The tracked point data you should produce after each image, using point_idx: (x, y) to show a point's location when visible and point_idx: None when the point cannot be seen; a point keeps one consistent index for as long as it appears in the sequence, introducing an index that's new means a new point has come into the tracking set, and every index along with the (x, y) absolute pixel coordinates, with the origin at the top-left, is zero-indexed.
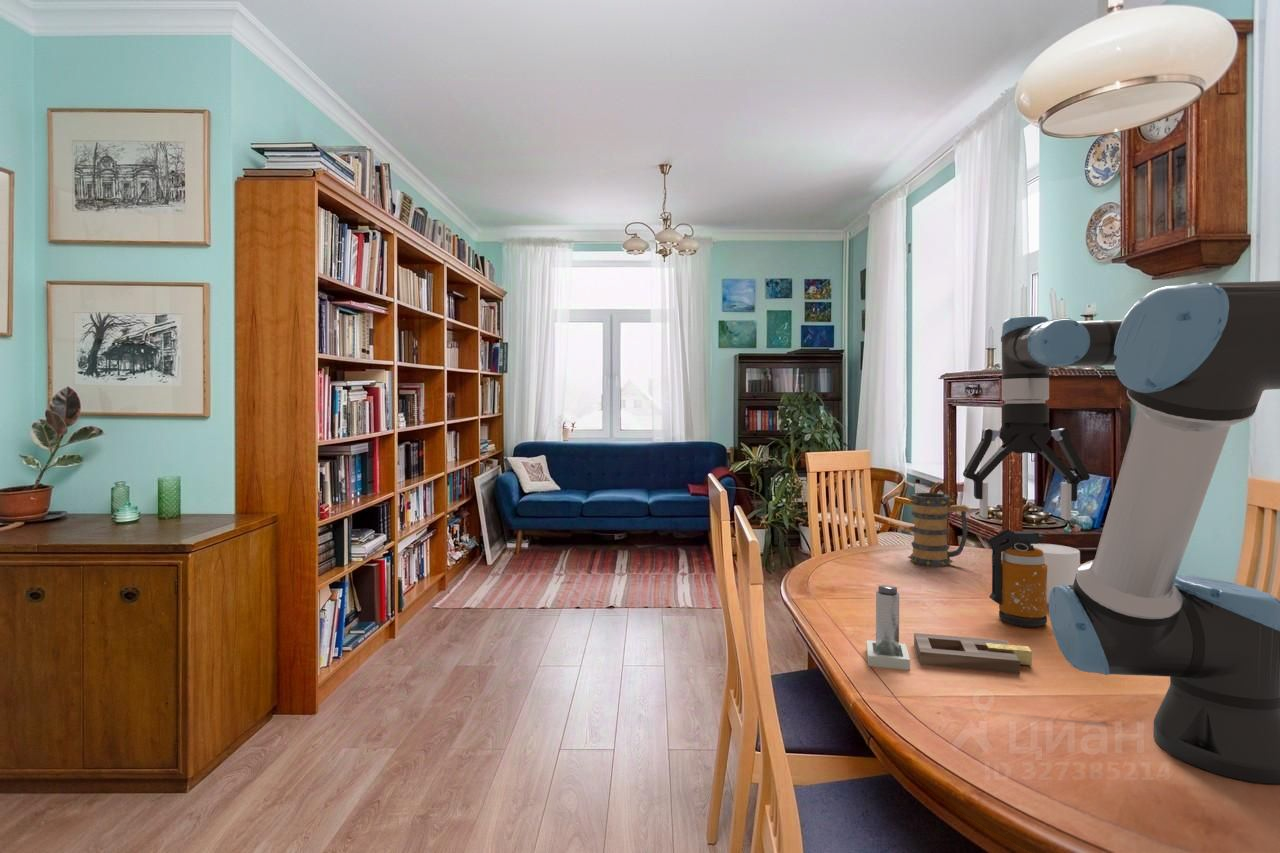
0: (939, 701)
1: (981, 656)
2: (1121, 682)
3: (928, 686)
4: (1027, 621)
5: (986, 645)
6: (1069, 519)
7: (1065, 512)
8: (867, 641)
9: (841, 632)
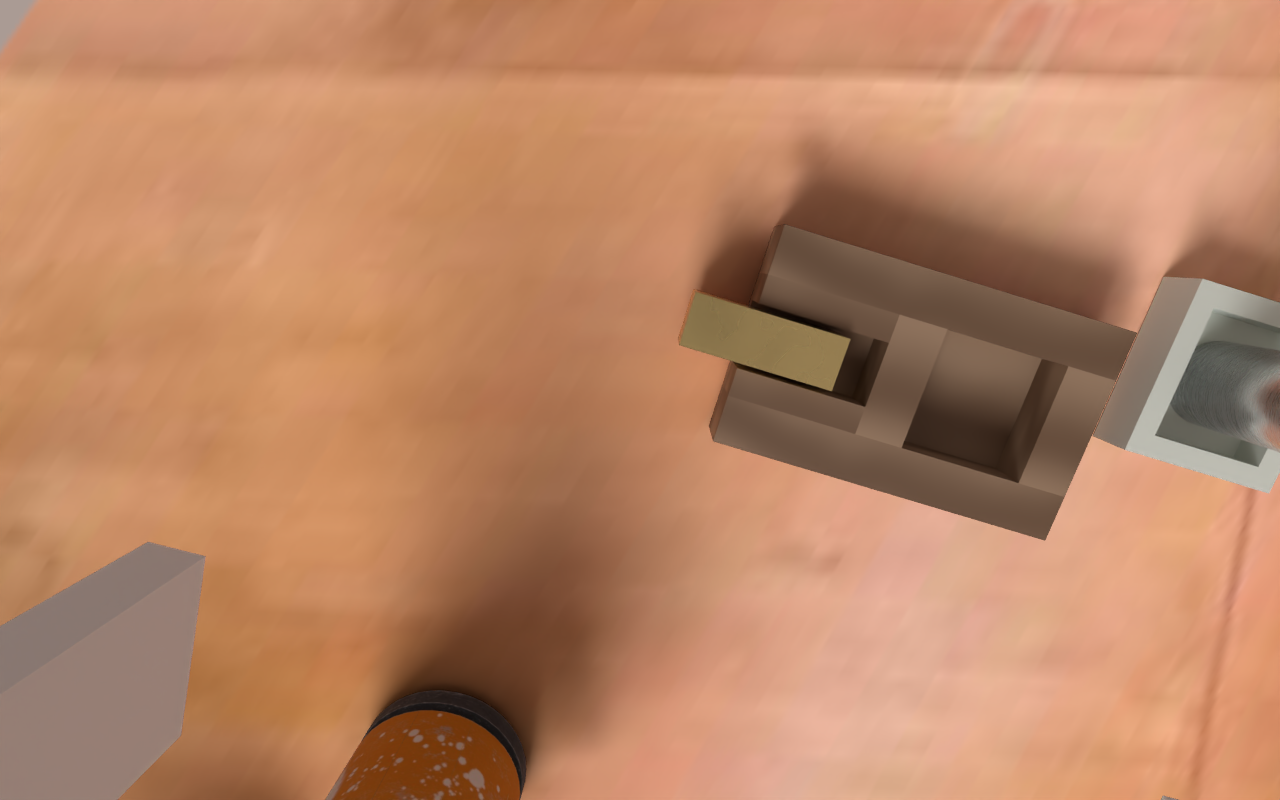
0: (1190, 26)
1: (914, 272)
2: (433, 176)
3: (1156, 160)
4: (462, 704)
5: (837, 372)
6: (161, 549)
7: (126, 645)
8: (1271, 479)
9: (1216, 688)
